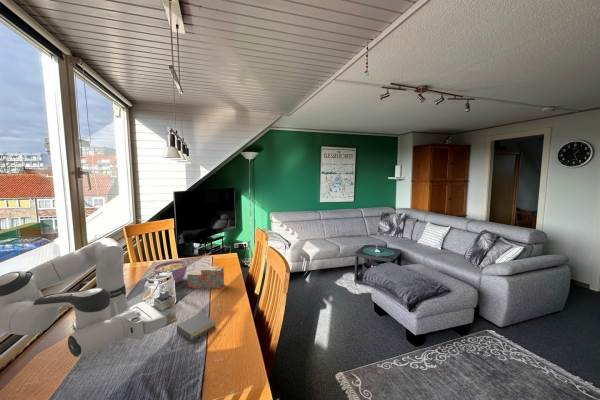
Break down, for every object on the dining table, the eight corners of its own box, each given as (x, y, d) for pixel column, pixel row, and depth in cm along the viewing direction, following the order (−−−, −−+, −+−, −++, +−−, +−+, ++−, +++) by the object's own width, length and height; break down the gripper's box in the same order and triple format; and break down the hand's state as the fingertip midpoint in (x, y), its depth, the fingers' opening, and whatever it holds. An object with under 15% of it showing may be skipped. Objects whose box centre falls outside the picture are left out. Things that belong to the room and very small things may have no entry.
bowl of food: (189, 274, 178) (188, 259, 177) (187, 286, 159) (186, 268, 158) (157, 278, 171) (156, 262, 170) (151, 291, 152) (150, 273, 151)
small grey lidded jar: (161, 328, 98) (160, 302, 97) (155, 322, 101) (153, 298, 100) (176, 321, 102) (175, 296, 101) (169, 316, 106) (168, 292, 105)
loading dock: (191, 341, 106) (191, 335, 105) (176, 331, 113) (176, 324, 113) (215, 327, 115) (215, 321, 115) (200, 318, 123) (200, 313, 122)
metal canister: (160, 303, 99) (160, 295, 98) (159, 299, 101) (158, 292, 101) (170, 300, 101) (169, 292, 100) (168, 297, 103) (167, 289, 103)
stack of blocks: (187, 288, 156) (186, 269, 155) (192, 284, 162) (191, 266, 161) (220, 289, 155) (220, 270, 154) (224, 284, 161) (223, 266, 160)
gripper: (119, 321, 97) (156, 306, 108) (140, 341, 85) (180, 322, 96) (118, 306, 97) (155, 292, 108) (139, 324, 85) (179, 307, 96)
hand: (167, 306), depth 102 cm, fingers closed on small grey lidded jar, 6 cm apart
